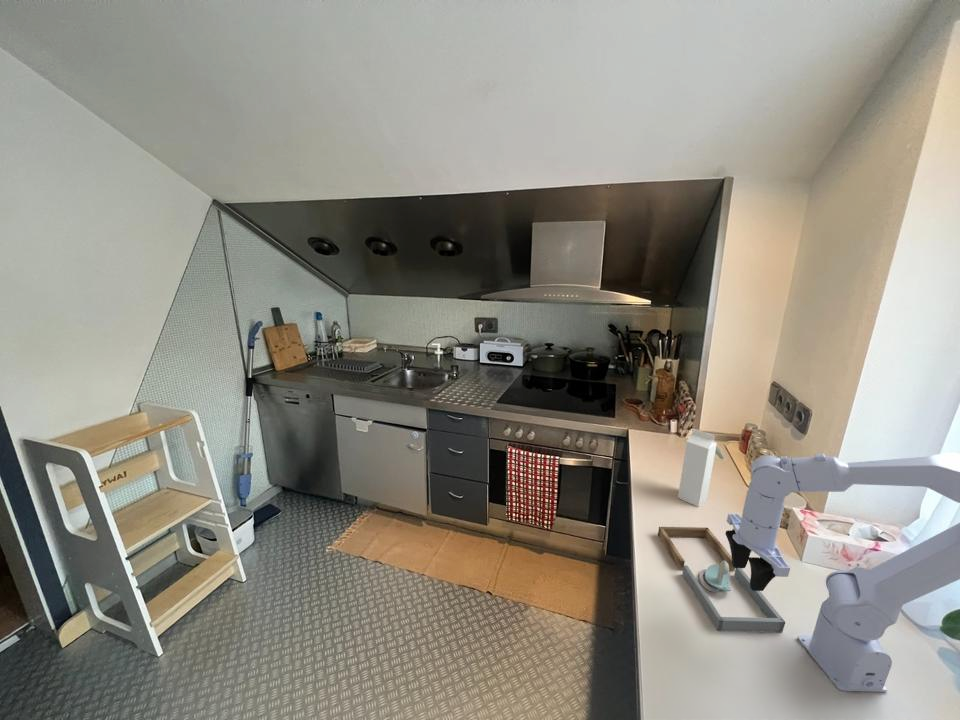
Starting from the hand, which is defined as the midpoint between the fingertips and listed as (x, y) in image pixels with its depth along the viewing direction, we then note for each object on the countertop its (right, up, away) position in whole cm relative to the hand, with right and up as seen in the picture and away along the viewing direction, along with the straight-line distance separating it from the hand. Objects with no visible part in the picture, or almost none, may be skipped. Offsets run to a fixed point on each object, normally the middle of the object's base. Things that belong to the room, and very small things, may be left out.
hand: (747, 577), depth 76 cm
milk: (+11, +1, +40) cm, 42 cm away
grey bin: (0, -8, +6) cm, 10 cm away
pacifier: (0, -7, +10) cm, 13 cm away
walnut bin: (0, -5, +19) cm, 20 cm away
